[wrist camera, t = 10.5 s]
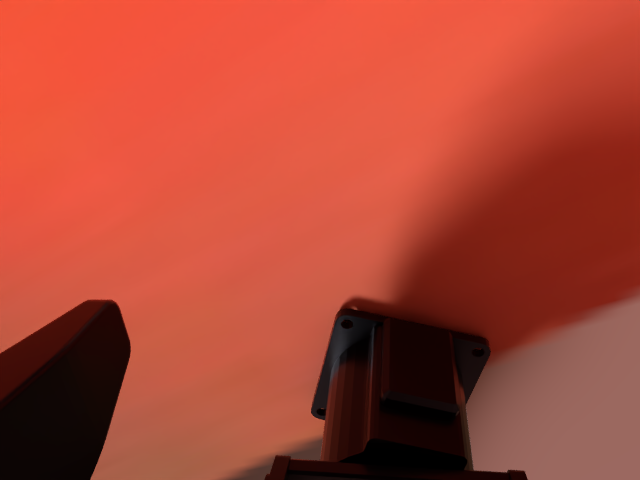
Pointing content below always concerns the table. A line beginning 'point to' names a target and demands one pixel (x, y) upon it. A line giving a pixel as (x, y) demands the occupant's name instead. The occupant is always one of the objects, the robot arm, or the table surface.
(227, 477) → the table surface
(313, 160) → the table surface
